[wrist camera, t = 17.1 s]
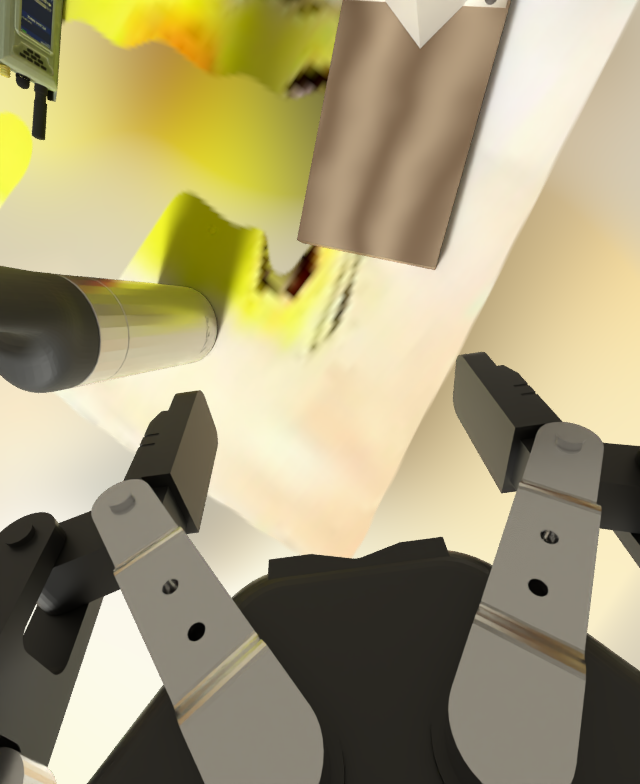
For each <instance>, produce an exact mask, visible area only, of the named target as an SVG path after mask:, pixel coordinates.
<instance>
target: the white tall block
mask: <svg viewBox="0 0 640 784" xmlns="http://www.w3.org/2000/svg"><path fill="white" fill-rule="evenodd" d="M385 1H386V3H387V4H388V6H389V7H390V8H391V10H392V11H393V12H394V14H395V15H396V16H397V18H398V19H399V21H400V22H401V23H402V25H403V26H404V27H405V29H406V30H407V31H408V33H409V34H410V36H411V37H412V38H413V40H414V41H415V42H416V44H417V45H418V46H419V48H421V47H422V46H423V45H424V44H425V43H426V42H427V41H428V40H429V39H430V38H431V37H432V36H433V35H434V34H435V33H436V32H437V31H438V30H439V29H440V28H441V27H442V26H443V25H444V24H445V23H446V22H447V21H448V20H449V19H450V18H451V17H452V16H453V15H454V14H455V13H456V12H457V11H458V10H459V9H460V8H461V7H462V6H463V5H464V4H465V3H466V2H467V1H468V0H385Z"/></svg>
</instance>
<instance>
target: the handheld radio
mask: <svg viewBox="0 0 640 784" xmlns="http://www.w3.org/2000/svg"><path fill="white" fill-rule="evenodd" d="M62 9H63V0H0V74H1V75H2V76H5V77H7V78H9V77H10V70H11V71H13V72H15V73H16V82H17V84H18V86H20V87H21V88H23V89H28V88H29V85H30V84H29V83H30V81H31V82H33V83H35V86H34V91H35V100H34V112H33V127H32V136H34V137H35V138H37V139H39V140H45V129H46V113H47V104H46V96H47V99H48V100H49V101H54V102H56V96H57V85H58V69H59V55H60V40H61V25H62ZM20 76H21V77H20ZM24 78H25V79H24ZM26 79H27V80H26Z"/></svg>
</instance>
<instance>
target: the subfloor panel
mask: <svg viewBox="0 0 640 784" xmlns="http://www.w3.org/2000/svg"><path fill="white" fill-rule="evenodd" d="M510 3H511V0H468V1H467V2H466V3H465V4H464V5H463V6H462V7H461V8H460V9H459V10H458V11H457V12H456V13H455V14H454V15H453V16H452V17H451V18H450V19H449V20H448V21H447V22H446V23H445V24H444V25H443V26H442V27H441V28H440V29H439V30H438V31H437V32H436V33H435V34H434V35H433V36H432V37H431V38H430V39H429V40H428V41H427V42H426V43H425V44H424V45H423V46H422V47H421V48H419V46H418V45H417V44H416V42H415V41H414V40H413V38H412V37H411V36H410V34H409V33H408V31H407V30H406V29H405V27H404V26H403V25H402V23H401V22H400V21H399V19H398V18H397V16H396V15H395V14H394V12H393V11H392V10H391V8H390V7H389V6H388V4H387V3H386V1H385V0H343V2H342V7H341V13H340V18H339V23H338V28H337V34H336V39H335V44H334V49H333V54H332V60H331V65H330V70H329V75H328V81H327V86H326V91H325V96H324V102H323V107H322V112H321V117H320V123H319V128H318V133H317V138H316V143H315V149H314V154H313V159H312V164H311V169H310V175H309V180H308V185H307V190H306V196H305V201H304V206H303V211H302V217H301V222H300V227H299V233H298V238H297V240H298V241H300V242H302V243H305V244H310V245H315V246H320V247H325V248H330V249H335V250H339V251H344V252H349V253H354V254H359V255H364V256H369V257H374V258H379V259H384V260H388V261H393V262H398V263H403V264H408V265H413V266H418V267H423V268H428V269H433V270H435V268H436V265H437V261H438V258H439V254H440V251H441V247H442V244H443V240H444V237H445V233H446V230H447V226H448V222H449V219H450V215H451V212H452V208H453V205H454V201H455V198H456V194H457V191H458V187H459V184H460V180H461V176H462V173H463V169H464V166H465V162H466V159H467V155H468V152H469V148H470V145H471V141H472V138H473V134H474V131H475V127H476V123H477V120H478V116H479V113H480V109H481V106H482V102H483V99H484V95H485V92H486V88H487V85H488V81H489V77H490V74H491V70H492V67H493V63H494V60H495V56H496V53H497V49H498V46H499V42H500V39H501V35H502V31H503V28H504V24H505V21H506V17H507V14H508V10H509V7H510Z"/></svg>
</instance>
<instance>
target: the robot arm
mask: <svg viewBox="0 0 640 784" xmlns="http://www.w3.org/2000/svg"><path fill="white" fill-rule="evenodd" d="M216 335H217V322H216V317H215V313H214V310H213V308H212V307H211V305H210V303H209V302H208V300H207V299H206V298H205V297H204V296H203V295H202V294H201V293H199V292H198V291H196V290H194V289H192V288H189V287H185V286H175V285H165V284H155V283H145V282H135V281H124V280H114V279H104V278H93V277H82V276H71V275H60V274H51V273H42V272H33V271H26V270H21V269H15V268H9V267H4V266H0V375H1V376H2V377H3V378H4V379H5V380H7V381H8V382H10V383H11V384H12V385H14V386H16V387H18V388H20V389H22V390H25V391H29V392H35V393H46V392H53V391H58V390H63V389H68V388H73V387H78V386H83V385H88V384H92V383H97V382H101V381H106V380H111V379H116V378H121V377H126V376H130V375H135V374H140V373H145V372H150V371H155V370H160V369H164V368H169V367H174V366H179V365H184V364H189V363H193V362H197V361H199V360H201V359H202V358H204V357H205V356H206V355H207V354H208V353H209V352H210V350H211V349H212V347H213V345H214V343H215V339H216ZM453 402H454V408H455V412H456V414H457V416H458V418H459V420H460V422H461V423H462V425H463V427H464V428H465V430H466V432H467V434H468V435H469V437H470V439H471V441H472V443H473V444H474V446H475V448H476V450H477V451H478V453H479V455H480V457H481V458H482V460H483V462H484V464H485V465H486V467H487V469H488V471H489V472H490V474H491V476H492V478H493V479H494V481H495V483H496V485H497V486H498V488H499V490H500V492H501V493H507V492H515V491H517V492H516V495H515V498H514V501H513V504H512V507H511V511H510V513H509V517H508V520H507V523H506V526H505V529H504V532H503V535H502V538H501V541H500V544H499V547H498V550H497V554H496V557H495V560H494V563H493V566H492V565H491V564H489V563H487V562H485V561H483V560H480V559H478V558H476V557H473V556H470V555H467V554H463V553H459V552H455V551H448V550H447V548H446V545H445V542H444V539H443V537H438V538H430V539H423V540H415V541H407V542H400V543H397V544H395V545H392V546H389V547H387V548H384V549H382V550H379V551H377V552H374V553H372V554H369V555H367V556H364V557H361V558H357V559H351V558H342V557H333V556H324V555H315V554H308V555H301V556H293V557H286V558H278V559H271V560H269V568H268V574H267V575H264V576H262V577H261V578H258V579H256V580H255V581H253V582H251V583H250V584H248V585H247V586H245V587H244V588H242V589H241V590H240V591H239V592H238V593H236V594H235V595H234V596H233V597H232V598H231V597H230V595H229V594H228V593H227V591H226V590H225V588H224V587H223V585H222V584H221V583H220V581H219V580H218V578H217V577H216V576H215V574H214V573H213V571H212V570H211V568H210V567H209V566H208V564H207V563H206V561H205V560H204V558H203V557H202V556H201V554H200V553H199V551H198V550H197V549H196V547H195V546H194V544H193V543H192V541H191V540H190V539H189V537H188V536H187V534H190V533H198V532H199V529H200V524H201V520H202V515H203V511H204V506H205V501H206V497H207V492H208V488H209V483H210V478H211V474H212V469H213V465H214V460H215V455H216V451H217V445H218V438H217V431H216V427H215V425H214V422H213V419H212V416H211V413H210V410H209V408H208V405H207V402H206V399H205V396H204V394H203V393H202V391H200V390H199V391H192V392H184V393H177V394H175V396H174V398H173V401H172V403H171V406H170V408H169V410H168V411H162V412H160V413H159V414H158V415H157V416H156V417H155V418H154V419H153V420H152V421H151V422H150V424H149V426H148V428H147V430H146V433H145V437H143V439H142V441H141V444H140V447H139V448H138V450H137V452H136V454H135V457H134V459H133V461H132V463H131V466H130V468H129V470H128V472H127V474H126V476H125V479H124V481H122V482H120V483H117V484H116V485H113V486H112V487H110V488H108V489H107V490H106V491H105V492H103V493H102V494H101V495H100V496H99V497H98V499H97V500H96V501H95V503H94V505H93V507H92V511H89V512H87V513H84V514H82V515H79V516H77V517H74V518H71V519H69V520H66V521H63V522H61V523H58V522H57V521H56V519H55V518H54V517H53V516H52V515H51V514H49V513H45V512H39V513H34V514H30V515H27V516H24V517H22V518H20V519H18V520H16V521H15V522H13V523H12V524H10V525H9V526H8V527H6V528H5V529H3V530H2V531H1V532H0V784H56V780H55V777H54V775H53V773H52V771H51V770H50V769H48V768H47V767H48V764H49V761H50V757H51V755H52V751H53V748H54V745H55V742H56V739H57V736H58V733H59V730H60V727H61V724H62V721H63V718H64V715H65V712H66V709H67V706H68V703H69V700H70V697H71V694H72V691H73V688H74V685H75V681H76V679H77V676H78V673H79V670H80V666H81V664H82V661H83V658H84V655H85V652H86V649H87V645H88V643H89V639H90V636H91V633H92V630H93V627H94V624H95V621H96V618H97V615H98V612H99V609H100V606H101V603H102V600H103V597H104V596H105V595H108V594H110V593H112V592H114V591H117V590H119V589H121V591H122V594H123V595H124V598H125V600H126V602H127V605H128V607H129V609H130V611H131V613H132V615H133V618H134V620H135V622H136V624H137V626H138V629H139V631H140V633H141V635H142V638H143V640H144V642H145V644H146V646H147V649H148V651H149V653H150V655H151V657H152V660H153V662H154V664H155V666H156V668H157V670H158V673H159V675H160V677H161V679H162V681H163V684H164V685H163V686H162V687H161V689H160V690H159V691H158V692H157V694H156V695H155V696H154V698H153V699H152V700H151V702H150V703H149V704H148V706H147V707H146V708H145V709H144V711H143V712H142V713H141V714H140V716H139V717H138V718H137V720H136V721H135V722H134V724H133V725H132V726H131V727H130V729H129V730H128V732H127V733H126V734H125V735H124V737H123V738H122V739H121V740H120V742H119V743H118V744H117V746H116V747H115V748H114V750H113V751H112V752H111V753H110V755H109V756H108V758H107V759H106V760H105V761H104V763H103V764H102V765H101V766H100V768H99V769H98V770H97V772H96V773H95V774H94V776H93V777H92V778H91V779H90V781H89V782H88V783H87V784H640V671H639V670H638V669H636V668H635V667H633V666H632V665H631V664H629V663H628V662H627V661H625V660H624V659H622V658H621V657H620V656H618V655H617V654H615V653H614V652H613V651H611V650H610V649H609V648H607V647H606V646H604V645H603V644H602V643H600V642H599V641H597V640H596V639H594V638H593V637H592V636H591V635H589V634H588V633H587V627H588V619H589V611H590V602H591V594H592V586H593V578H594V569H595V561H596V552H597V545H598V536H599V528H602V529H609V530H613V531H614V533H615V534H616V535H617V537H618V538H619V540H620V541H621V542H622V544H623V545H624V547H625V548H626V549H627V551H628V552H629V554H630V555H631V556H632V558H633V559H634V561H635V562H636V563H637V565H638V566H639V568H640V446H631V445H621V444H620V445H619V444H609V443H603V442H602V441H601V439H600V438H599V437H598V436H597V435H596V434H595V433H593V432H592V431H590V430H589V429H587V428H585V427H582V426H580V425H577V424H573V423H568V422H562V421H561V420H560V418H558V417H557V415H556V414H555V413H554V412H553V411H552V410H551V409H550V407H549V406H548V405H547V404H546V403H545V402H544V401H543V400H542V399H541V398H540V397H539V395H538V394H535V391H534V390H533V389H532V388H531V387H530V386H528V385H527V382H526V381H525V380H524V379H523V378H522V377H521V376H520V375H519V373H517V372H515V371H513V370H512V369H509V368H508V367H506V366H504V365H501V366H496V365H495V363H494V362H493V361H492V360H491V359H490V357H489V356H488V355H487V354H486V353H485V352H478V353H471V354H464V355H459V356H458V357H457V360H456V369H455V381H454V391H453ZM36 604H37V607H36V610H35V612H34V614H33V616H32V618H31V620H30V622H29V625H28V627H27V629H26V631H25V633H24V630H25V627H26V625H27V622H28V620H29V618H30V616H31V614H32V612H33V609H34V607H35V605H36ZM23 634H24V635H23Z"/></svg>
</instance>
